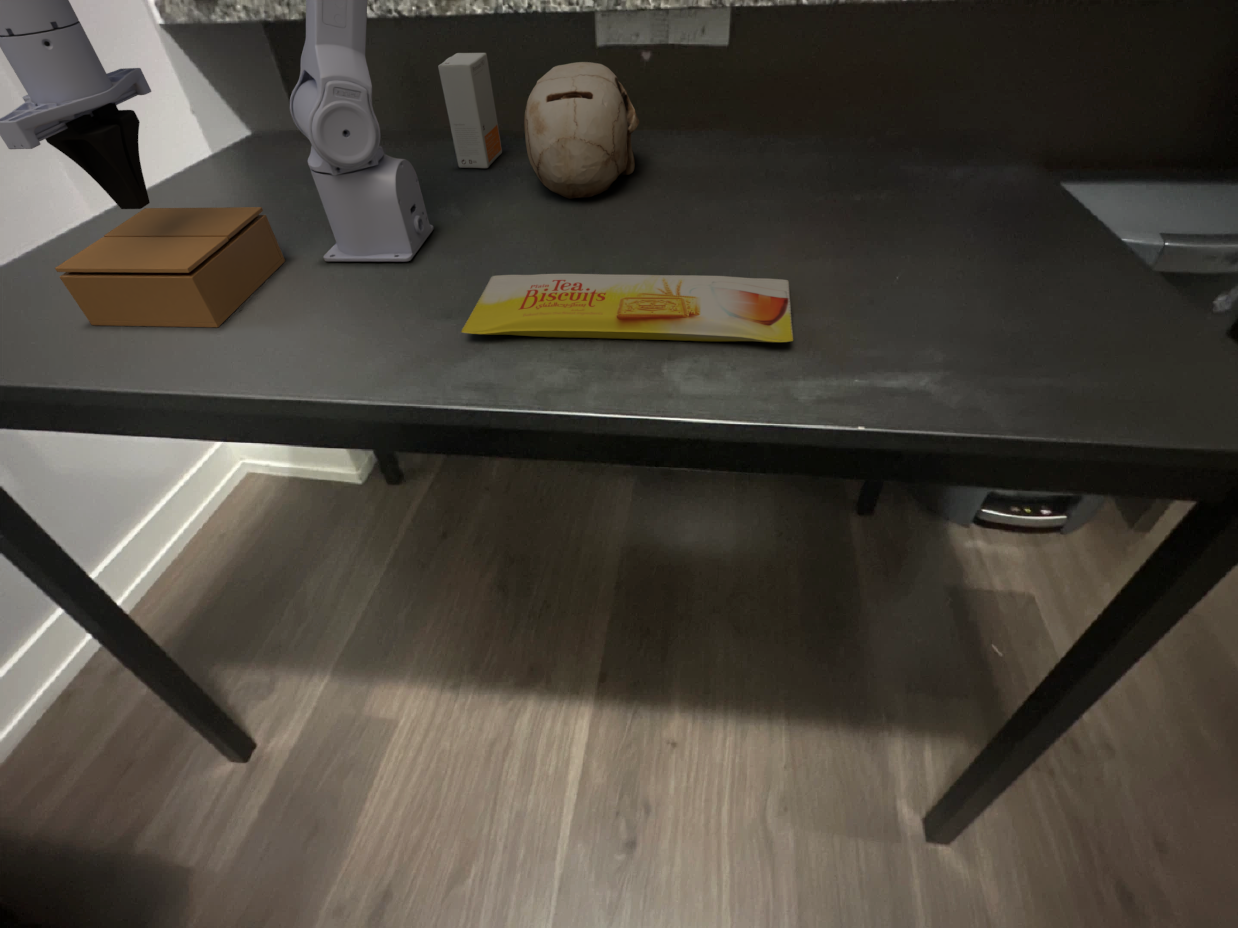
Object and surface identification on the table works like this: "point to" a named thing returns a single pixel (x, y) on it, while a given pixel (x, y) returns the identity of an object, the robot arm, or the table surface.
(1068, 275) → the table surface
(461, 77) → the cosmetic box
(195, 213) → the carton
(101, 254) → the flap
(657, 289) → the food package
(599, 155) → the coin bank
